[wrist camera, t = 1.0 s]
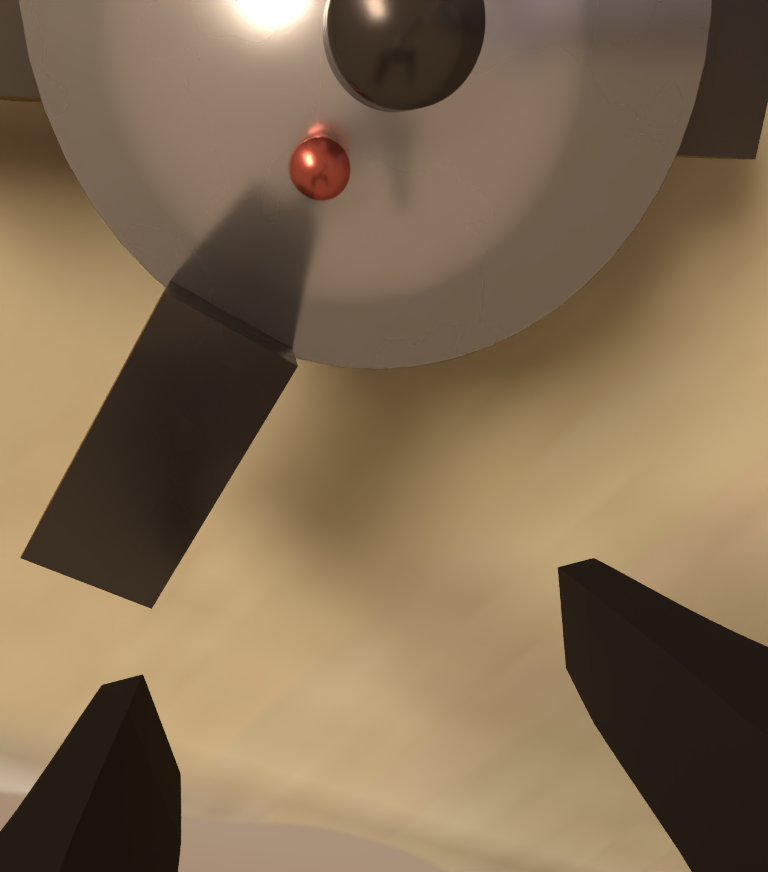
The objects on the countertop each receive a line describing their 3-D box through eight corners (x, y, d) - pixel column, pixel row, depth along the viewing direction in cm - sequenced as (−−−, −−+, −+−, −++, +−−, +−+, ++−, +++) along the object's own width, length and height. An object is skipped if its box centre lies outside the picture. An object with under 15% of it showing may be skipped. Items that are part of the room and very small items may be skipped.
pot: (710, -173, 17) (859, -273, 13) (629, 303, 21) (724, 340, 17) (-252, -321, 13) (-468, -528, 9) (-126, 294, 17) (-237, 339, 13)
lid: (255, -651, 10) (260, -838, 8) (804, -54, 14) (892, -85, 12) (-201, 404, 13) (-271, 446, 11) (339, 629, 17) (352, 686, 15)
